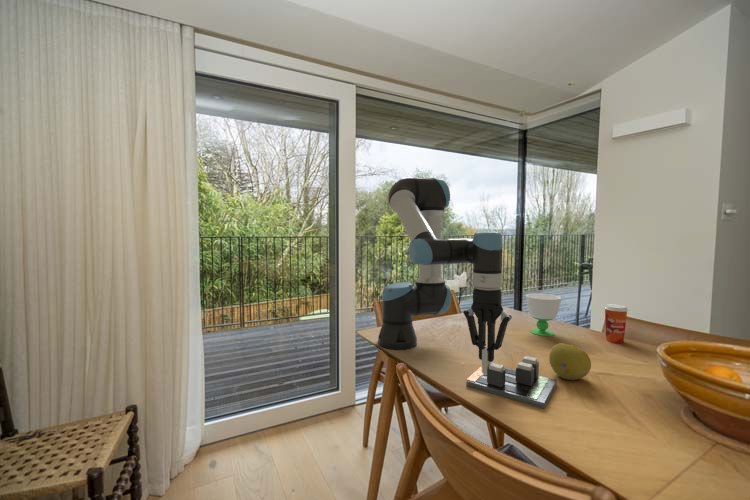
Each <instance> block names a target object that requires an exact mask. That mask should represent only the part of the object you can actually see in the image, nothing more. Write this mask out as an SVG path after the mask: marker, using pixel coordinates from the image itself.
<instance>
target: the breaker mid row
mask: <svg viewBox="0 0 750 500" xmlns="http://www.w3.org/2000/svg"><path fill="white" fill-rule="evenodd" d="M515 370H516V382H517V383H521V384H525V385H529V386H532V384H533V383H534V368H532V364H528V363H524V362H522V361H519V362H518V364H517V366H516V367H515Z"/></svg>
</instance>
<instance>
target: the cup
mask: <svg viewBox="0 0 750 500" xmlns="http://www.w3.org/2000/svg"><path fill="white" fill-rule="evenodd" d="M525 300H526V303H527V308H528V313H529V315H530V317H532V318H533V319H535V320H537V322H536V327H537V328H536V329H531V330H530V333H531V334H533V335H534V336H535V335H536V336H540V337H553V336H554V335H555V333H554V332H553V331H550V330H548V329H549V323H548V322H549V321H552V320H554V319H556V318H557V316H558V313H559V309H560V305H561V302H562V297H561V296H559V295H555V294H550V293H542V292H541V293H540V292H539V293H537V292H536V293H535V292H534V293H533V292H532V293H527V294H525Z"/></svg>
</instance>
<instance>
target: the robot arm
mask: <svg viewBox="0 0 750 500" xmlns="http://www.w3.org/2000/svg"><path fill="white" fill-rule="evenodd" d="M387 197H388V198H387V199H388V204H389V207H390V209H392V211H393V212H395V213H396V214H397V216H398V218H399V220H400V222H401V224H402V226H403V228H404V230H405V231H404V232H406V234H407V237H408V238H409V240H410V242H409V245H408V255H409V260H410V262H411V263H412V264H414V265H418V271H419V272H418V273H419V275H418V276H419V277H418V278H417V279H416V280H415V285H413V284H412V282H407V281H404V282H402V281H401V282H394V283H390V284H388V285H385V286H384V287H383V289H382V295H381V296H382V298H381V300H382V303H381V304H382V306H381V307H382V324H381V327H380V330H379V334H378V336H377V337H378V338H377V340H378V341H377V343H378V345H379V346H380V347H382V348H385V349H390V350H406V349H411V348H414V347H415V346H417V344H418V338H417V335H416V331H415V328H414V324H413V317H416V316H418V317H419V316H432V315H433V316H436V315H440V314H441V315H442V314H445V313H446V312H447V311H448V310H449V308H450V306H451V302H452V293H451V287H450V286H449V285H447V284H446V281H445V279H444V278H443V277H442V265H445V264H446V265H455V264H456V265H457V264H459V265H460V264H470V265H472V269H473V270H472V286H473V287H474V288H473V289H472V304H471V307H470V308H467V309H465V310H463V315H464V317H465V318H466V321H467V327H468V331H469V334H470V335H469V336H470V341H471V343H472V345H473V346H475V347H477V348H478V359H479V360H481V366H482V373H485V374H487V369H488V368H489V365H490V364H491V363H493V362H494V359H495V350H496V351H497V350H499V349H500V348H502V347H503V341H504V338H505V336H506V335H505V334H506V330H507V327H508V324H509V323H510V321H511V320H512V317H513V316H512V315H511V314H507V313H506V312H505V311H504V308H503V306H502V305H503V304H502V300H503V299H502V296H503V295H502V294H503V293H502V289H501V288H502V287H503V285H502V284H503V281H502V280H503V279H502V278H503V277H502V276H503V274H502V273H503V271H502V270H503V248H504V246H503V235H502V233H501V232H499V231H479V232H478V231H477V232H475V233H473V238H470V237H461V238H441V237H442V232H441V231H442V230H441V229H442V228H441V226H442V225H441V222H442V221H441V216H442V215H443V214H444V213H445V209H446V208H448V206H449V205H450V201H451V191H450V186H449V185H448V183H447V181H446V180H444V179H442V178H436V177H412V176H411V177H410V176H409V177H408V176H407V177H402V178H401V179H399V180H396V182H394V183H393V185H392V186H391V188H390V189H389V192H388V195H387ZM474 315H475V316H474ZM475 317H476V319H477V324H476V319H475ZM498 318H500V323H499V327H498V331H497V335H496V323H497V322H496V321H497V320H498ZM477 325H478V327H477ZM477 328H478V329H477ZM486 333H487V334H486ZM486 335H487V336H486ZM486 337H487V338H486ZM486 339H487V340H486ZM486 341H487V342H486Z"/></svg>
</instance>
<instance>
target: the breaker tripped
mask: <svg viewBox="0 0 750 500" xmlns="http://www.w3.org/2000/svg"><path fill="white" fill-rule="evenodd" d="M504 367H505V366H504V365H503V364H499V363H494V362H491V364H490V365H489V368H488V369H487V383H488V384H492V385H495V386H499V387H503V385H504V384H505V373H506V369H504Z"/></svg>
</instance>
